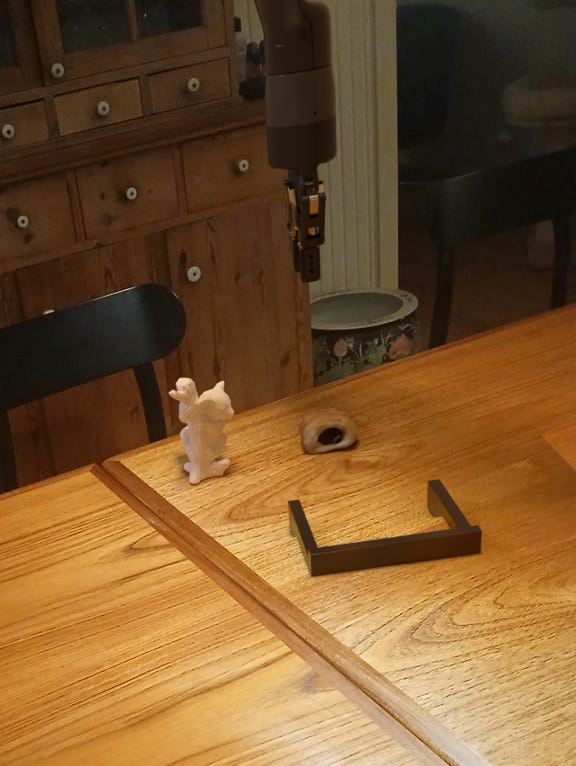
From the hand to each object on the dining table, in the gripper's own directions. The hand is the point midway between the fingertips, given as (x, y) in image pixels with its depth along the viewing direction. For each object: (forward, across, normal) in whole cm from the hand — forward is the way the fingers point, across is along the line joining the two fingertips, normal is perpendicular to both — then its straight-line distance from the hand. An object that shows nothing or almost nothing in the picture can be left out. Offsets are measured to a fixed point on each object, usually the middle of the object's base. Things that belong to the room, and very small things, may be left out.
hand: (306, 275), depth 117 cm
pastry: (+17, -9, 0) cm, 20 cm away
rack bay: (+17, -35, 0) cm, 39 cm away
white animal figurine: (+17, -13, +15) cm, 26 cm away
